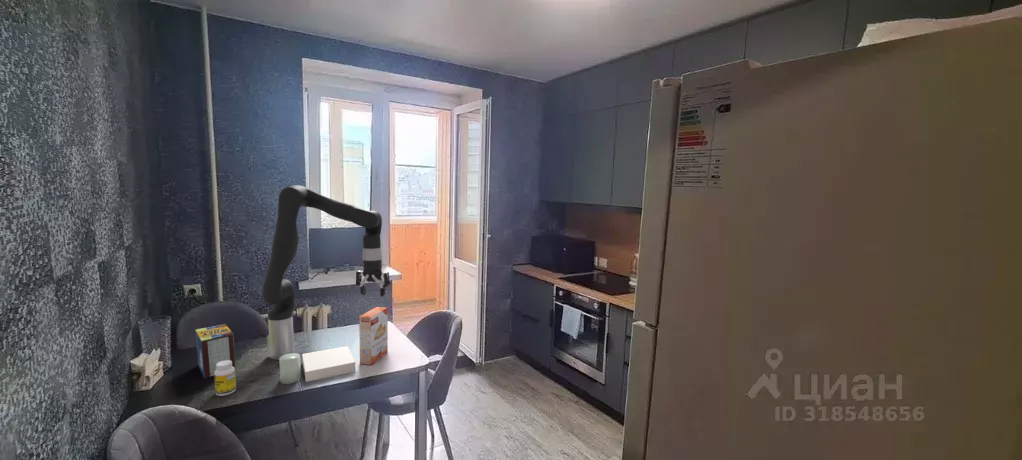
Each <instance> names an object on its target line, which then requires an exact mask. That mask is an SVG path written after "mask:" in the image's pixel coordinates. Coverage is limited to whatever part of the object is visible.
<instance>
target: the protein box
mask: <svg viewBox="0 0 1022 460" xmlns="http://www.w3.org/2000/svg"><path fill="white" fill-rule="evenodd" d="M194 332H195V343H196V344H195V345H196V354H197V365H199V366H198V367H199V370H200V373H201V375H202V374H203V375H202V377H203V379H204V378H206V379H208V377H209V378H212V377H211V376H213V377H214V372H215V370H217V369H216V364H217V363H218V362H221V361H225V360H230V361H232V366H233V367H234V368H235V370H236V369H237V368H236V367H237V366H236V354H235V341H234V340H235V339H234V332H232V330H231V329H230V328H229V327H228V325H227V324H226V323H223V324H217V325H213V326H208V327H203V328H197V329H195V331H194ZM236 371H237V370H236Z"/></svg>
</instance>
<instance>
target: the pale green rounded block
mask: <svg viewBox="0 0 1022 460" xmlns="http://www.w3.org/2000/svg"><path fill="white" fill-rule="evenodd" d="M278 362H279V376H280V377H279V379H280V383H281V384H285V385H289V384H293V383H297V382H298V381H300V380H301V379H302V372H301V371H302V369H301V368H302V367H301V355H300V353H297V352H296V353H295V352H294V353H290V354H286V355H283V356H281V357H280V358H279V359H278Z"/></svg>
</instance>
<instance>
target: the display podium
mask: <svg viewBox="0 0 1022 460" xmlns="http://www.w3.org/2000/svg"><path fill="white" fill-rule="evenodd" d="M301 355H302V358H301V359H302V369H303V374H304V379H305V382H312V381H317V380H323V379H326V378H332V377H336V376H340V375H341V376H342V375H345V374H349V373H355V372H356V360H355V358H354V356H353V353H352V352H351V349H350V347H349V345H345V346H341V347H334V348H329V349H328V348H327V349H324V350H318V351H312V352H305V353H302V354H301Z"/></svg>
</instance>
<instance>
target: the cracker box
mask: <svg viewBox="0 0 1022 460" xmlns="http://www.w3.org/2000/svg"><path fill="white" fill-rule="evenodd" d="M388 311H389V310H388V307H384V306H383V307H381V306H375V307H374V308H371V309H370V310H368V311H366V312H365V313H363V314H361V315H359V317H358V318H359V319H358V320H359V322H358V323H359V324H358V325H359V327H358V329H359V364H360V365H368V366H373V364H375V363H376V362H377V361H379V360H380V359H381V358H382V357H383V356H384V355H386V354H388V352H389V351H388V347H389V346H388V339H389V338H388V333H389V332H388V331H389V330H388V318H389V317H388V316H389V315H388Z"/></svg>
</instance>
